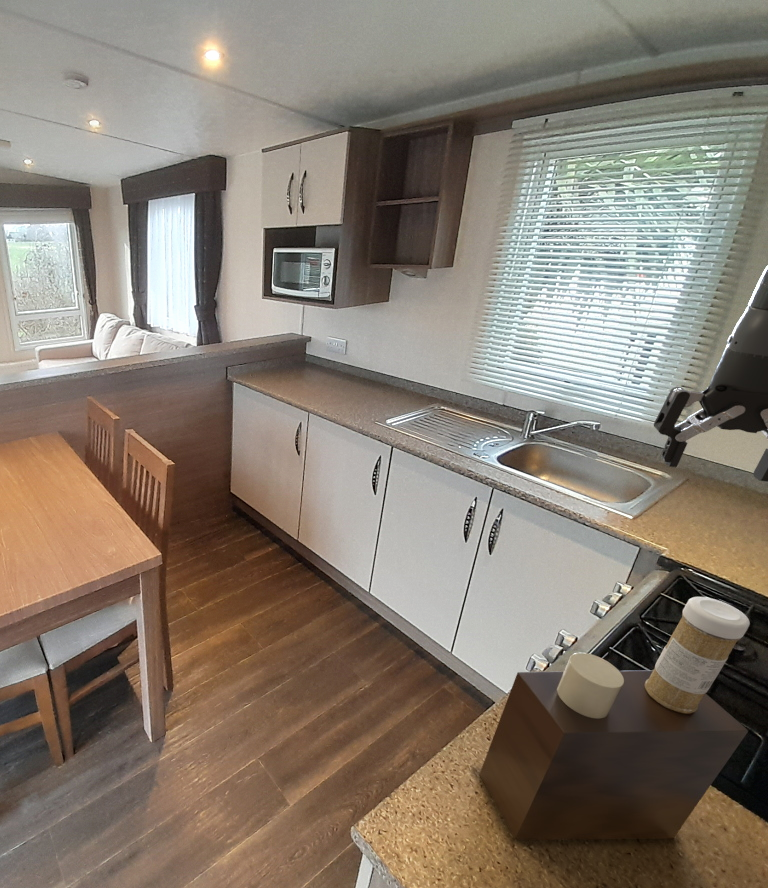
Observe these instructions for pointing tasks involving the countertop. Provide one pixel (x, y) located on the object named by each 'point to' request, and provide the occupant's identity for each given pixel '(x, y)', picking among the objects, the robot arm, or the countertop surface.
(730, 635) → the sprinkles bottle
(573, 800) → the block
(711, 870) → the countertop surface
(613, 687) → the cream squat cylinder
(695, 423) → the robot arm
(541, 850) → the countertop surface
